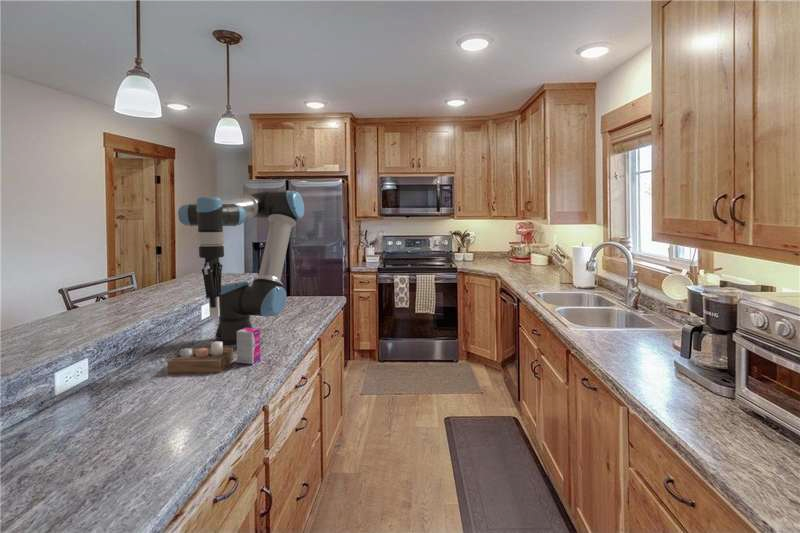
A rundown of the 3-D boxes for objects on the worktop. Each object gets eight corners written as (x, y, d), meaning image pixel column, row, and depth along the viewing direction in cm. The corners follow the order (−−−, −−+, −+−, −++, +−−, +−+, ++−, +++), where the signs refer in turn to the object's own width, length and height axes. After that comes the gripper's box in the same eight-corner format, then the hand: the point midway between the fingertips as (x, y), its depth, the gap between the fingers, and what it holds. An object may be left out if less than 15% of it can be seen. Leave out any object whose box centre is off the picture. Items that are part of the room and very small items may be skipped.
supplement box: (252, 365, 152) (251, 332, 151) (236, 364, 154) (235, 331, 152) (261, 360, 158) (260, 327, 157) (245, 359, 159) (244, 327, 158)
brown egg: (198, 362, 153) (198, 348, 153) (209, 361, 153) (209, 347, 153) (194, 365, 150) (193, 351, 149) (205, 365, 150) (205, 351, 149)
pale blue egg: (183, 362, 153) (182, 348, 152) (194, 362, 153) (193, 348, 153) (179, 365, 149) (178, 351, 149) (190, 365, 150) (189, 351, 149)
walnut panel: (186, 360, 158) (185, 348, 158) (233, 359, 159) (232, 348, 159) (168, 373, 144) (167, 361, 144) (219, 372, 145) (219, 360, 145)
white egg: (213, 355, 153) (213, 341, 153) (224, 355, 154) (224, 341, 153) (209, 358, 150) (209, 344, 149) (221, 358, 150) (220, 344, 149)
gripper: (206, 243, 154) (210, 312, 157) (191, 246, 141) (195, 321, 144) (229, 243, 155) (232, 312, 157) (216, 246, 142) (220, 320, 145)
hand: (214, 316), depth 151 cm, fingers closed
